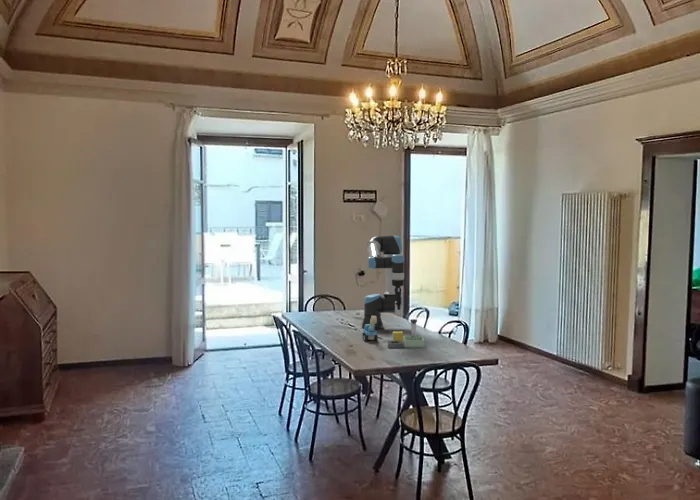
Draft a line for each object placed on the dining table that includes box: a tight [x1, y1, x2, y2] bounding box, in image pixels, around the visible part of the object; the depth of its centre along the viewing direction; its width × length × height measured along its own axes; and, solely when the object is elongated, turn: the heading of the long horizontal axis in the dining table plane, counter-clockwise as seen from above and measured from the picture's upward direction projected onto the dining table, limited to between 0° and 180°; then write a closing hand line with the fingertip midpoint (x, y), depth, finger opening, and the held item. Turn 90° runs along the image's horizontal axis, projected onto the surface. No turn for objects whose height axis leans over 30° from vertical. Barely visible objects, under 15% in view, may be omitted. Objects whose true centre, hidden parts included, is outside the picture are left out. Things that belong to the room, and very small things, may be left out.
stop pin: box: [410, 318, 418, 340], centre depth 363 cm, size 4×4×15 cm
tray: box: [403, 335, 426, 349], centre depth 363 cm, size 12×12×4 cm
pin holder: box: [386, 340, 404, 349], centre depth 362 cm, size 9×9×2 cm
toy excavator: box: [361, 316, 379, 342], centre depth 376 cm, size 9×17×17 cm, turn 11°
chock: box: [392, 331, 404, 342], centre depth 374 cm, size 4×6×6 cm, turn 89°
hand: (397, 313), depth 373 cm, fingers open, 13 cm apart
